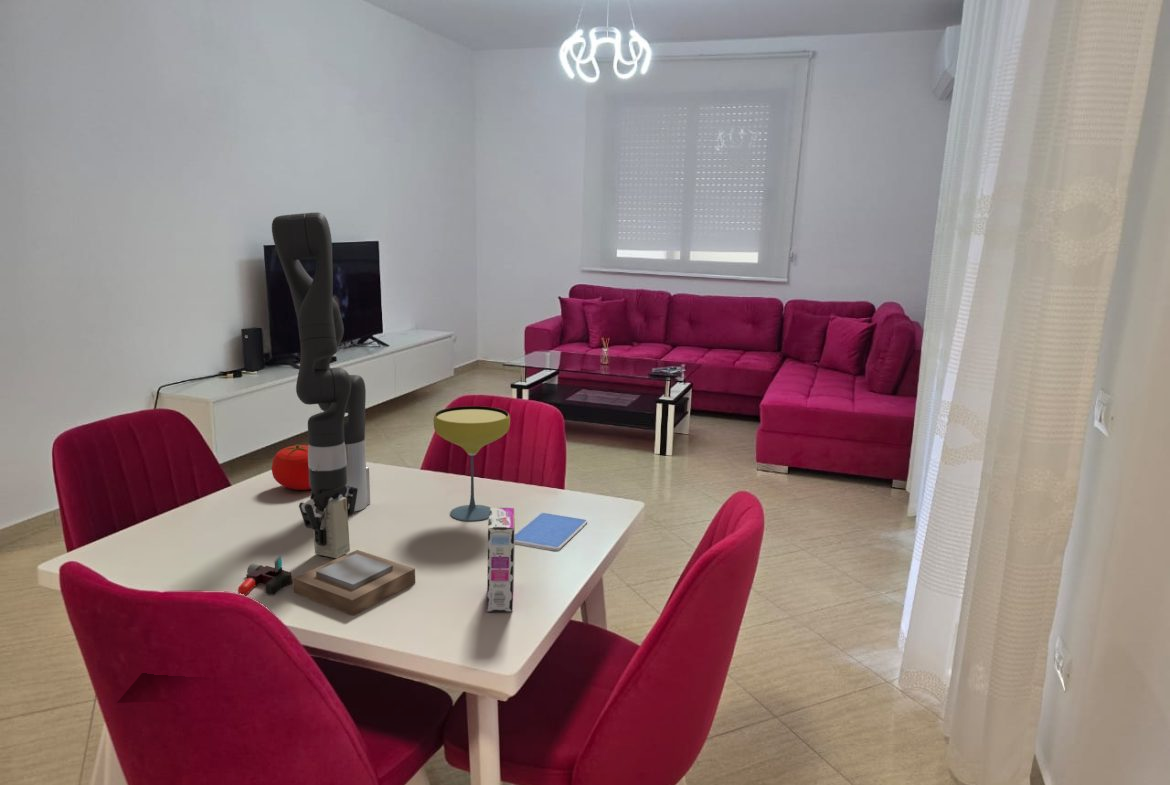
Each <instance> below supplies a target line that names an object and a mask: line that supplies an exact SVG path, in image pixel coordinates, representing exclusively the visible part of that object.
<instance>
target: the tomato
mask: <svg viewBox="0 0 1170 785" xmlns="http://www.w3.org/2000/svg"><path fill="white" fill-rule="evenodd" d="M308 448H309V445H304V444H302V445H301V444H295V445H291V446H287V447H284V448H281V449H280V450H279V451H277V453H276V454H275V455H274V456H273V459H272V464H271V474H272V478H273V479H274V480H275V481H276V482H277V483H278V484H280V486H283V487H285V488H287V489H291V490H296V491H306V490H307V491H308V490H312V489H311V487H310V485H309V467H308Z"/></svg>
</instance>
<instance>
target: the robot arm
mask: <svg viewBox="0 0 1170 785" xmlns="http://www.w3.org/2000/svg"><path fill="white" fill-rule="evenodd" d="M271 234H272V240H273V243H274V246H275V250H276V253H277V255H278V259H279V261H280V264H281V267H282V269H283V272H284V275H285V279H286V282H287V284H288V286H289V290H290V294H291V298H292V302H293V306H294V311H295V314H296V319H297V329H298V335H299V345H300V361H299V368H298V374H297V378H296V379H297V380H296V385H295V391H296V396H297V397H298V399H299V401H301V403H303V404H305V405H310V406H311V405H318V407H319V408H320V410H321V412H318V413H316V414H312V415H311V416H310V417H309V418H308V419H307V436H308V437H307V439H308V446H309V448H308V467H309V485H310V487H311V489H310V490H311V495H310V498H309V499H308V500H307V501H306V502H300V503H299V505H298V508H299V512H300V514H301V517H302V520H303V524H304V526H305V528H307V529H311V530H312V531H313V530H314V531H315V542H316V543H317V544H318V545H320V546H325V545H326V529H324V528H325V524H326V520H327V519H328V505H329V503H330V502H332V501H333V499H340V498H343V497H345V498H347V513H348V518H349V517H350V516H353V515H354V514H355V512H358V511H359V512H360V511H361V510H364V509H365V508H367V506H368V505H370V504H371V485H370V484H371V483H370V482H371V481H370V479H371V478H370V467H369V466H367V461H366V460H367V456H366V455H367V454H366V400H367V398H366V384H365V380H364V379H363V377H362V376H361V375H358V374H350V373H348V371H347V370H346V369H345V368H341V367H331V366H330V365H331V364H330V363H331V361H332V359H333V356H335V355H336V353H337V352H338V348H339V346H340V344H341V342H342V340H343V336H344V333H345V327H344V322H343V319H342V314H341V310H340V306H339V304H338V302H337V300H335V298H334V297H333V296H334V295H333V291H334V290H333V289H334V288H333V286H334V285H333V284H334V282H333V281H334V280H333V276H334V273H333V272H334V270H333V269H334V268H333V243H332V242H333V240H332V233H331V228H330V224H329V221H328V219H327V218H326V215H324V214H323V213H322V212H317V211H316V212H303V213H293V214H284V215H283V214H282V215H278V216H276V217H274V218H273V220H272V222H271ZM312 259H316V267H315V273H314V277H313V278H312V277H311V276H310V274H308V272H307V271H306V269H305V268H304V267H303V265H302V263H301V261H302V260H312ZM346 414H347V419H346V420H345V415H346ZM314 505H315V506H314ZM313 506H314V507H313ZM317 509H318V510H319V511H322V512H323V514H320V513H318V512H317ZM319 518H320V523H319Z"/></svg>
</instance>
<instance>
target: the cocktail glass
mask: <svg viewBox="0 0 1170 785" xmlns="http://www.w3.org/2000/svg"><path fill="white" fill-rule="evenodd" d="M510 426H511V416H510V414H509V412H508V411H507V410H504V409H502V408H499V407H498V408H497V407H491V406H484V405H483V406H481V405H466V406H465V405H464V406H455V407H448V408H443V409H441V410H439V411H436V412H435V413H434V416H433V429H434V431H435V433H436V434H437V435H438V436H439V437H441V438H442V439H444V440H445V441H447V442H450V443H451V444H454V445H456V446H459V447H461V448H462V449H463V450H464V451H465V453H466V454H467V455H469V456H470V500H469V504H464V505H459V506H457V507H454V508H452V509H451V511H450V512H449V515H450V516H451V518H453V519H455V520H456V521H462V522H481V521H485V520H489V513H490V508H491V506H488V505H482V504H476V500H475V488H474V487H475V486H474V485H475V483H474V482H475V481H474V471H475V470H474V456H476V455H477V454H478V453H479V452H480V450H481V449H482V448H483V447H485V446H486V445H489V444H492V443H493V442H495V441H497V440H499V439H501V438H503V436H505V435H506V434H507V433H508V432H509V429H510Z"/></svg>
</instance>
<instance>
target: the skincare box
mask: <svg viewBox="0 0 1170 785" xmlns="http://www.w3.org/2000/svg"><path fill="white" fill-rule="evenodd" d="M314 506H315V505H314ZM314 506H313V507H314ZM317 512H318V513H320V514H323V512H322V511H319V510H318V509H317ZM319 523H320V518H319ZM324 529H326V545H325V546H320V545H318V544H317V543H316V542H315V531H314V530H313V529H312V533H313V546H314V554H316V555H320V556H323V557H324V556H325V557H328V558H333V559H337V558H340V557H342V556H344V555H347V554H349V553H350V552H351V547H350V546H351V544H350V531H349V530H350V529H349V517H348V513H347V498H345V497H343V498H340V499H333V501H332V502H330V503H329V505H328V519H327V520H326V524H325V528H324Z"/></svg>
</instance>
